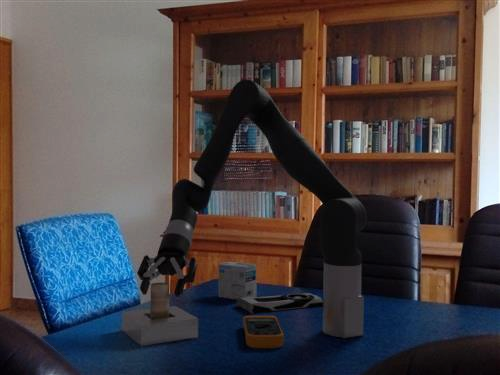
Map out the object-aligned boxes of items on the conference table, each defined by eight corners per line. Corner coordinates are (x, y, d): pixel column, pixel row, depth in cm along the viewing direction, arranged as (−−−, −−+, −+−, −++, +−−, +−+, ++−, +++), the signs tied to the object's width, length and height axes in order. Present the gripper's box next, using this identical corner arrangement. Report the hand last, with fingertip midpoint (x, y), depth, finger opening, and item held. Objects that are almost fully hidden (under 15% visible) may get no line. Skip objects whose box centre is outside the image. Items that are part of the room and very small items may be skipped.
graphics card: (236, 297, 161) (309, 290, 172) (235, 308, 161) (309, 301, 172) (250, 304, 152) (326, 297, 163) (250, 317, 152) (326, 308, 163)
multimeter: (246, 350, 122) (246, 335, 122) (242, 328, 140) (242, 314, 140) (284, 350, 123) (284, 335, 123) (276, 327, 141) (276, 314, 141)
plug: (171, 334, 132) (172, 285, 132) (154, 337, 130) (154, 286, 130) (164, 330, 136) (165, 282, 136) (147, 332, 134) (148, 283, 134)
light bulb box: (257, 297, 174) (257, 263, 173) (245, 301, 168) (246, 266, 168) (229, 293, 179) (229, 260, 179) (217, 297, 174) (217, 263, 173)
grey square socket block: (197, 337, 130) (198, 318, 130) (141, 345, 123) (141, 325, 123) (175, 323, 143) (175, 305, 142) (122, 330, 135) (122, 312, 135)
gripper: (147, 231, 142) (127, 283, 132) (199, 233, 139) (184, 286, 128) (154, 249, 148) (137, 300, 137) (205, 251, 145) (191, 304, 134)
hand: (159, 293), depth 133 cm, fingers open, 8 cm apart
